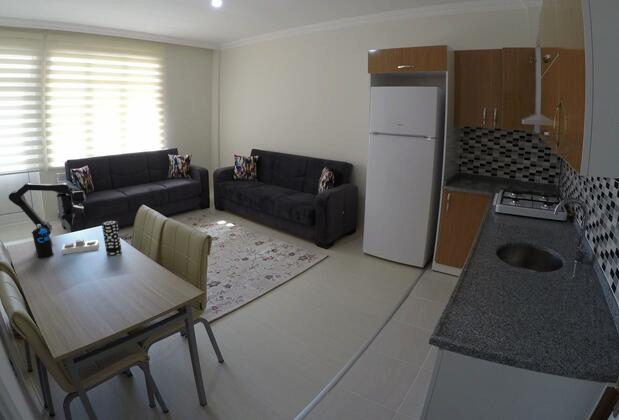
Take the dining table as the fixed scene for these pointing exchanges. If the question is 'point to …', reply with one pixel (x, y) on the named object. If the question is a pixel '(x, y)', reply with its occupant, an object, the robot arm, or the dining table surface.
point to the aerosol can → (42, 242)
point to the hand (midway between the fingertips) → (71, 225)
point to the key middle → (80, 242)
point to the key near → (69, 245)
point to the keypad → (80, 248)
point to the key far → (91, 242)
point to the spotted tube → (111, 238)
